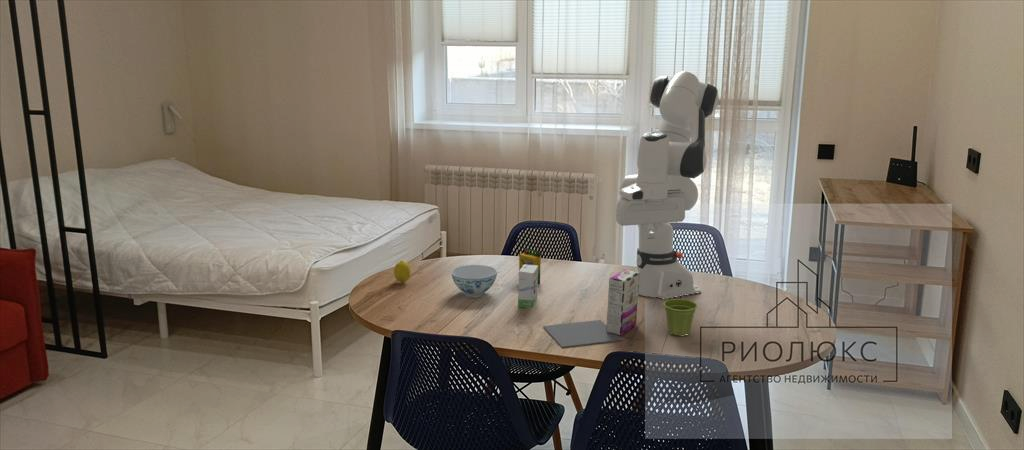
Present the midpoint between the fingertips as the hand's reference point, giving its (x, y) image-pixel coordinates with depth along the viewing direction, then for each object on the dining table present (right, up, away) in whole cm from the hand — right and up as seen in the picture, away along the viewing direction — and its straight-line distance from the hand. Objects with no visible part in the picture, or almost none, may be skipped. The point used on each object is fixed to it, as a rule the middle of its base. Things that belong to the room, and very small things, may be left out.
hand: (649, 238), depth 221 cm
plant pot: (+9, -27, +2) cm, 29 cm away
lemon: (-77, -16, +46) cm, 91 cm away
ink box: (-34, -21, +26) cm, 48 cm away
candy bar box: (-8, -26, +4) cm, 28 cm away
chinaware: (-52, -19, +35) cm, 65 cm away
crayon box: (-33, -16, +46) cm, 59 cm away
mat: (-19, -27, +1) cm, 33 cm away
